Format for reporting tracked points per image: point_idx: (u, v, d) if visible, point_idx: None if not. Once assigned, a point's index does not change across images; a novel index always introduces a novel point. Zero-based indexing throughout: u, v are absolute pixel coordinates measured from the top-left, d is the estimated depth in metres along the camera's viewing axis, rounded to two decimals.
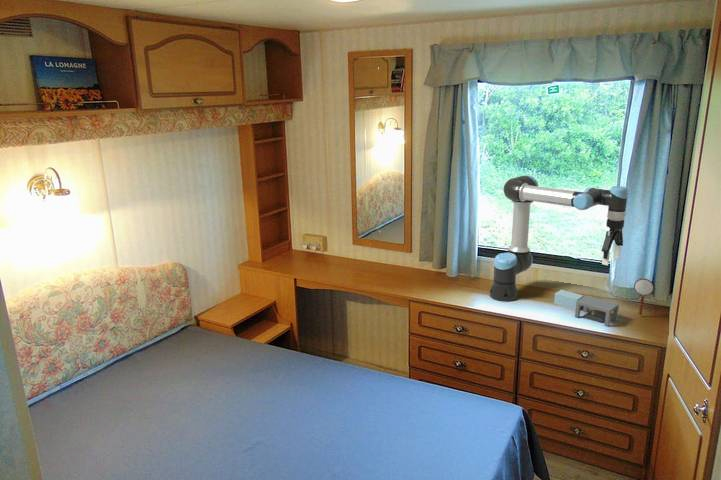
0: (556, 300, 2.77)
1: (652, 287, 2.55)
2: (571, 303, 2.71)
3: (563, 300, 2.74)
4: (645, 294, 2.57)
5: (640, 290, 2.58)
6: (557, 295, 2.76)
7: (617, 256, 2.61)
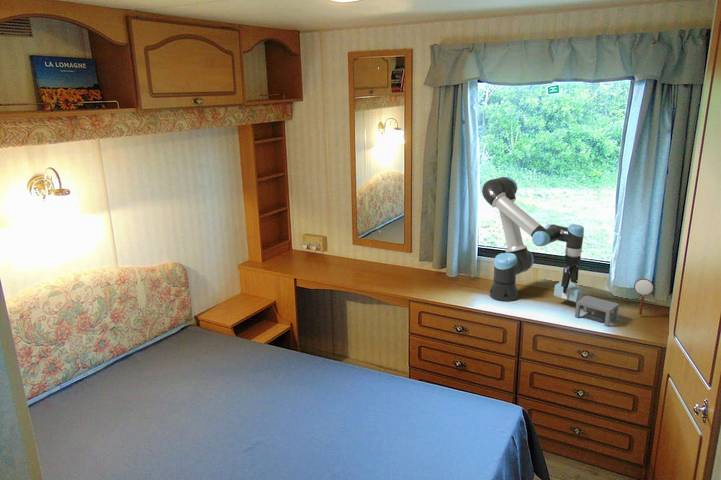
0: (556, 292, 2.76)
1: (652, 287, 2.55)
2: (571, 295, 2.71)
3: None
4: (645, 294, 2.57)
5: (640, 290, 2.58)
6: (557, 287, 2.75)
7: None
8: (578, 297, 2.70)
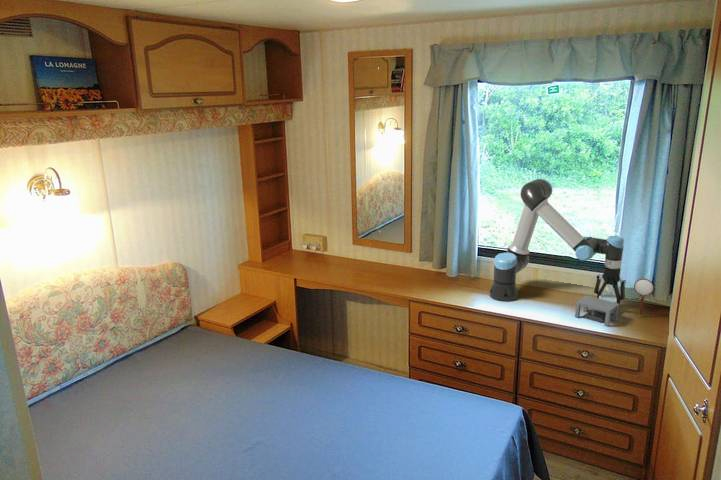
0: None
1: (652, 287, 2.55)
2: None
3: None
4: (645, 294, 2.57)
5: (640, 290, 2.58)
6: None
7: None
8: None
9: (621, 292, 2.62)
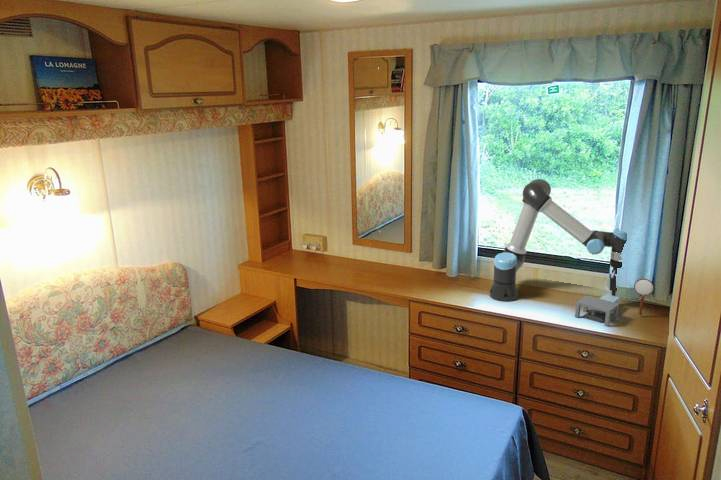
0: None
1: (652, 287, 2.55)
2: None
3: None
4: (645, 294, 2.57)
5: (640, 290, 2.58)
6: None
7: None
8: None
9: None
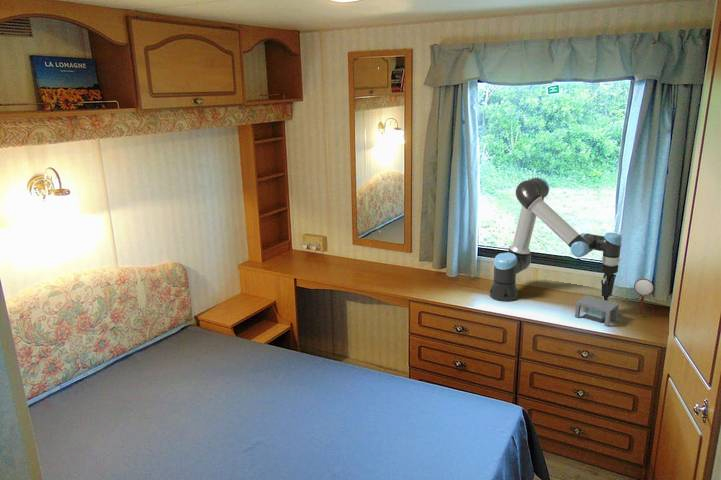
0: None
1: (652, 287, 2.55)
2: None
3: None
4: (645, 294, 2.57)
5: (640, 290, 2.58)
6: None
7: None
8: (591, 315, 2.59)
9: (612, 285, 2.66)
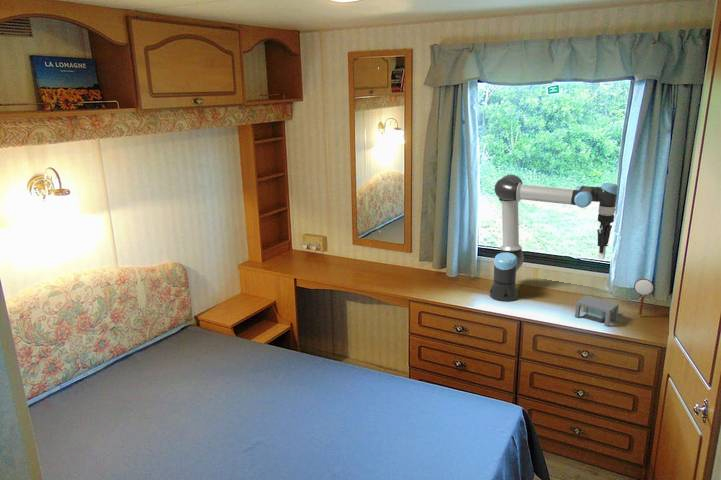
0: None
1: (652, 287, 2.55)
2: None
3: None
4: (645, 294, 2.57)
5: (640, 290, 2.58)
6: None
7: None
8: (591, 315, 2.59)
9: (608, 236, 2.72)
